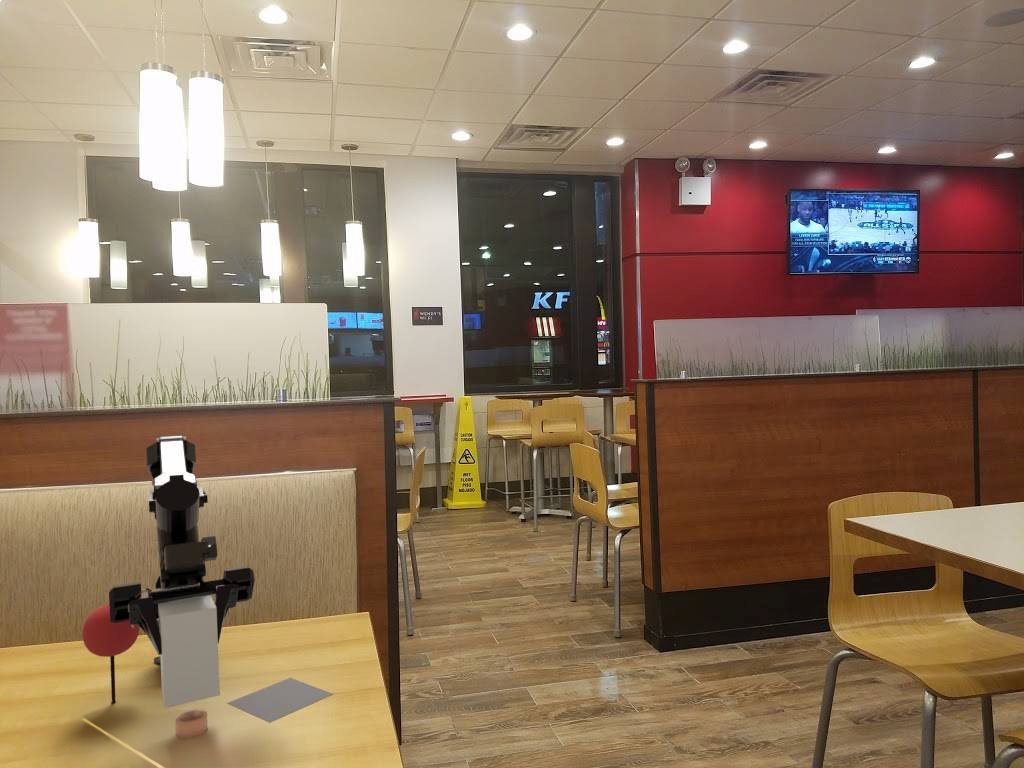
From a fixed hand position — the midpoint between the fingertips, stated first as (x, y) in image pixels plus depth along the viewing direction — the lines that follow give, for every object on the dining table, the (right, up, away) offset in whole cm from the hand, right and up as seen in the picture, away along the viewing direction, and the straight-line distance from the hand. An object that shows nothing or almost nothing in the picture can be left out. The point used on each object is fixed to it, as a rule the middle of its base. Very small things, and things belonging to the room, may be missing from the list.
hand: (189, 647), depth 99 cm
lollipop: (-17, -13, +12) cm, 25 cm away
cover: (0, -7, +1) cm, 7 cm away
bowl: (0, -12, +1) cm, 12 cm away
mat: (+9, -12, +11) cm, 18 cm away
